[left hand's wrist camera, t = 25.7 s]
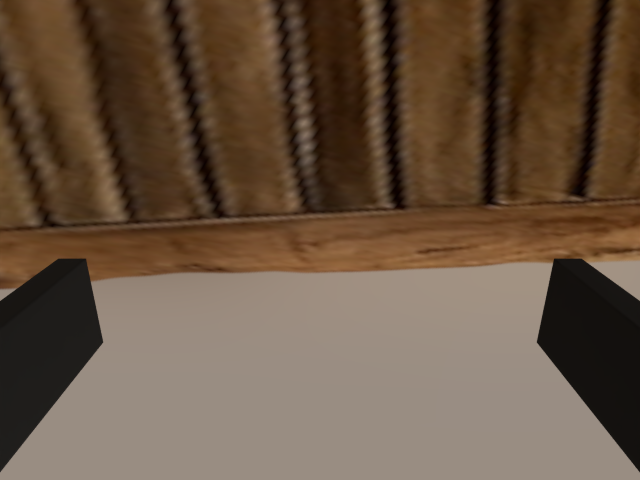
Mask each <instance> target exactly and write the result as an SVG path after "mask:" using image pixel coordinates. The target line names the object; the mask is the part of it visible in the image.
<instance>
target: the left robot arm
mask: <svg viewBox="0 0 640 480" xmlns="http://www.w3.org/2000/svg"><path fill="white" fill-rule="evenodd" d="M102 343H103V339H102V334H101V330H100V325H99V320H98V315H97V310H96V305H95V300H94V296H93V291H92V286H91V281H90V276H89V271H88V267H87V262H86V259H57V260H56V261H55V262H53V263H52V264H51V265H49V266H48V267H46V268H45V269H44V270H42V271H41V272H40V273H38V274H37V275H35V276H34V277H33V278H31V279H30V280H29V281H27V282H26V283H24V284H23V285H22V286H20V287H19V288H17V289H16V290H15V291H13V292H12V293H11V294H9V295H8V296H7V297H5V298H4V299H2V300H1V301H0V472H1V470H2V469H3V468H4V467H5V465H6V464H7V463H8V462H9V460H10V459H11V458H12V457H13V455H14V454H15V453H16V452H17V450H18V449H19V448H20V447H21V445H22V444H23V443H24V441H25V440H26V439H27V438H28V436H29V435H30V434H31V433H32V431H33V430H34V429H35V428H36V426H37V425H38V424H39V423H40V421H41V420H42V419H43V418H44V416H45V415H46V414H47V413H48V411H49V410H50V409H51V407H52V406H53V405H54V404H55V402H56V401H57V400H58V399H59V397H60V396H61V395H62V394H63V392H64V391H65V390H66V388H67V387H68V386H69V385H70V383H71V382H72V381H73V380H74V378H75V377H76V376H77V375H78V373H79V372H80V371H81V370H82V368H83V367H84V366H85V365H86V363H87V362H88V361H89V360H90V358H91V357H92V356H93V354H94V353H95V352H96V351H97V349H98V348H99V347H100V346H101V344H102ZM537 343H538V344H539V346H540V347H541V348H542V349H543V351H544V352H545V353H546V355H547V356H548V357H549V358H550V359H551V361H552V362H553V363H554V365H555V366H556V367H557V368H558V370H559V371H560V372H561V373H562V375H563V376H564V377H565V378H566V380H567V381H568V382H569V384H570V385H571V386H572V387H573V389H574V390H575V391H576V392H577V394H578V395H579V396H580V397H581V399H582V400H583V401H584V402H585V404H586V405H587V406H588V407H589V409H590V410H591V411H592V413H593V414H594V415H595V416H596V418H597V419H598V420H599V421H600V423H601V424H602V425H603V426H604V428H605V429H606V430H607V431H608V433H609V434H610V435H611V436H612V438H613V439H614V440H615V442H616V443H617V444H618V445H619V447H620V448H621V449H622V450H623V452H624V453H625V454H626V455H627V457H628V458H629V459H630V460H631V462H632V463H633V464H634V465H635V467H636V468H637V469H638V471H639V472H640V301H639V300H638V299H636V298H635V297H634V296H632V295H631V294H629V293H628V292H627V291H625V290H624V289H623V288H621V287H620V286H618V285H617V284H616V283H614V282H613V281H611V280H610V279H609V278H607V277H606V276H605V275H603V274H602V273H600V272H599V271H598V270H596V269H595V268H594V267H592V266H591V265H589V264H588V263H587V262H585V261H584V260H583V259H554V262H553V267H552V272H551V276H550V281H549V286H548V291H547V296H546V300H545V305H544V310H543V315H542V320H541V325H540V329H539V334H538V339H537Z"/></svg>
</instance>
